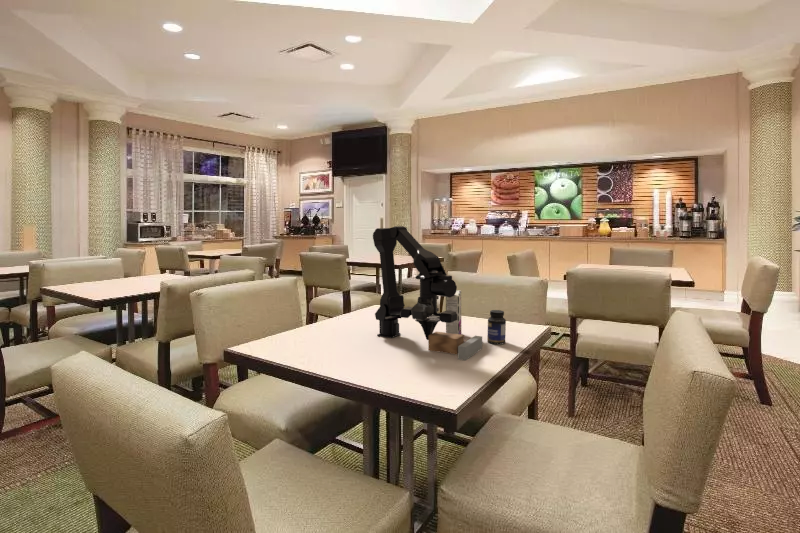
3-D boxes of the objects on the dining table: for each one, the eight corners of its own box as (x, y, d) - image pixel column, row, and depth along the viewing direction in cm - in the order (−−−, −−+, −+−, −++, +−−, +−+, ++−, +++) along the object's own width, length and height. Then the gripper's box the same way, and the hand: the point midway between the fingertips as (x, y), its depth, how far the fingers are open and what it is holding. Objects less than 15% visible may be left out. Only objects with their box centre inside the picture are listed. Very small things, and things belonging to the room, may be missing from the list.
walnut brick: (428, 350, 155) (428, 335, 155) (436, 346, 160) (436, 331, 160) (456, 354, 150) (456, 339, 150) (463, 349, 155) (464, 334, 155)
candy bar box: (448, 333, 178) (448, 289, 176) (461, 333, 177) (462, 290, 175) (445, 340, 167) (445, 294, 166) (459, 341, 166) (459, 295, 165)
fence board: (458, 359, 145) (458, 346, 145) (475, 347, 158) (475, 335, 158) (465, 360, 144) (465, 347, 144) (482, 348, 157) (482, 336, 157)
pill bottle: (483, 342, 164) (484, 311, 163) (493, 339, 169) (493, 308, 168) (499, 345, 160) (500, 313, 159) (508, 342, 164) (509, 311, 163)
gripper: (391, 294, 154) (391, 341, 156) (444, 299, 145) (443, 349, 146) (408, 290, 164) (408, 334, 165) (458, 294, 155) (457, 341, 156)
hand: (428, 339), depth 158 cm, fingers closed
